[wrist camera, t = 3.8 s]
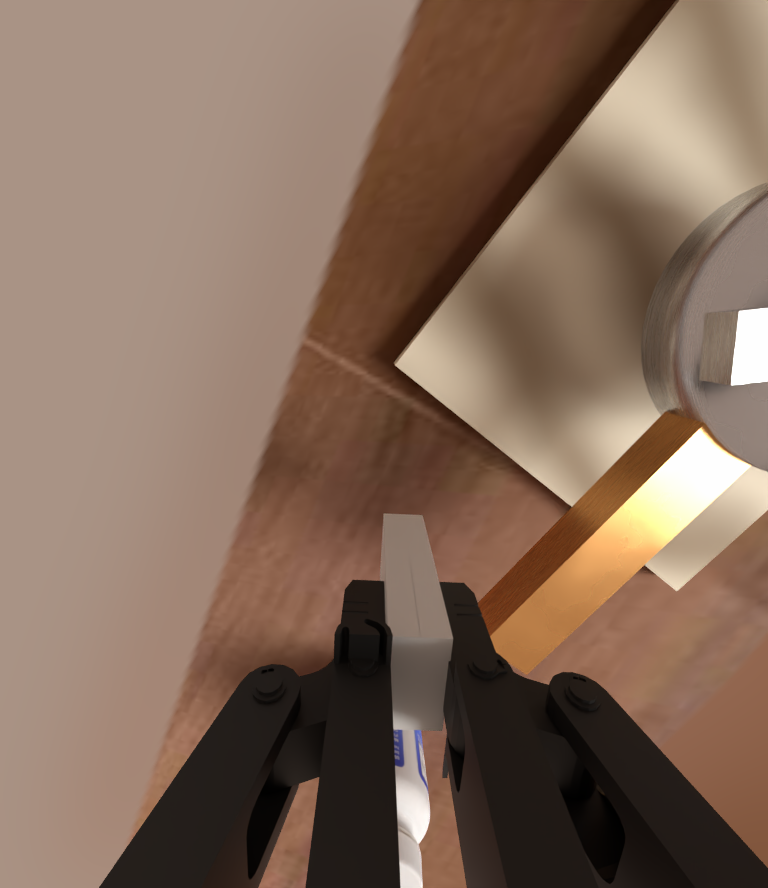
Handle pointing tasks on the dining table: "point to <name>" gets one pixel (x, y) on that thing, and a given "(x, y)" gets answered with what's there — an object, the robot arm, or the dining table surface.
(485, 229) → the dining table surface
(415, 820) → the pill bottle
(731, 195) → the board
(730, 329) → the frying pan on burner
